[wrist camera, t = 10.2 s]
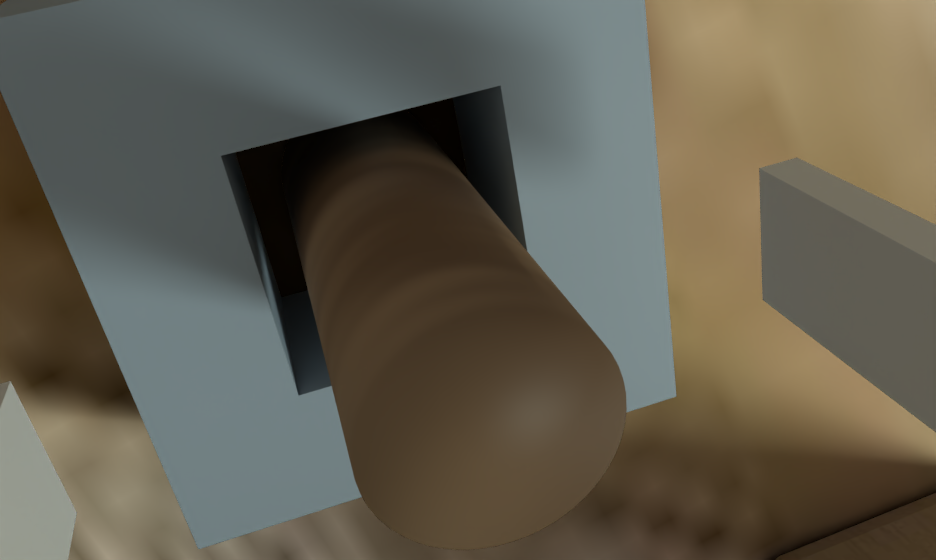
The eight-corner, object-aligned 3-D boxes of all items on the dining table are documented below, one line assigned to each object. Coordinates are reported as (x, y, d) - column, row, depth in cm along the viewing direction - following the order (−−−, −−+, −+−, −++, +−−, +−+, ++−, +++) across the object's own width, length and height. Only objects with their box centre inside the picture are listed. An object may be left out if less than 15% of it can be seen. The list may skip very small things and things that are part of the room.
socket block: (199, 427, 25) (198, 549, 20) (25, -13, 19) (-29, 24, 15) (598, 308, 26) (676, 396, 22) (545, -125, 21) (634, -122, 17)
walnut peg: (304, 261, 23) (386, 584, 13) (261, 116, 22) (317, 357, 11) (447, 221, 24) (637, 499, 14) (419, 78, 22) (612, 271, 12)
